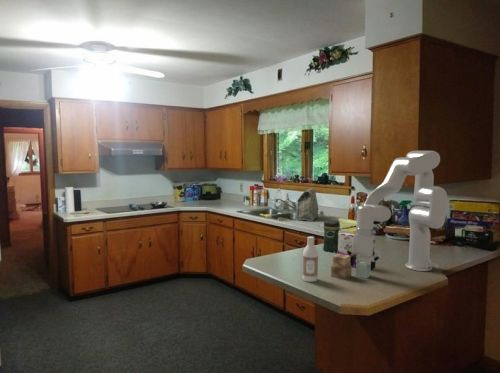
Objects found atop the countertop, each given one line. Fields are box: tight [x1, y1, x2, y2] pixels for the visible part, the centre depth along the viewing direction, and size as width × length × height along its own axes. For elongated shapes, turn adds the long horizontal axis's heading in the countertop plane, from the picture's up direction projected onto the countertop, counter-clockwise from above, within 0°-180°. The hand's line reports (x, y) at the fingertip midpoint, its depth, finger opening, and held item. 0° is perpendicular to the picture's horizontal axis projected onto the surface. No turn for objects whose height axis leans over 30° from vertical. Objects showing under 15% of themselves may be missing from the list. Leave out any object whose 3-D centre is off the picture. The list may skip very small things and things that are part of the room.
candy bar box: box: [337, 231, 362, 268], centre depth 193 cm, size 11×5×16 cm, turn 44°
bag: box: [296, 187, 319, 222], centre depth 328 cm, size 22×16×27 cm
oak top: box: [332, 253, 350, 269], centre depth 175 cm, size 6×6×5 cm
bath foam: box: [301, 236, 319, 283], centre depth 169 cm, size 7×7×20 cm
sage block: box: [355, 261, 371, 279], centre depth 176 cm, size 5×5×6 cm
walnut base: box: [330, 265, 353, 280], centre depth 175 cm, size 7×7×5 cm
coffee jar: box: [322, 219, 341, 253], centre depth 221 cm, size 10×8×19 cm
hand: (362, 267), depth 175 cm, fingers open, 9 cm apart
